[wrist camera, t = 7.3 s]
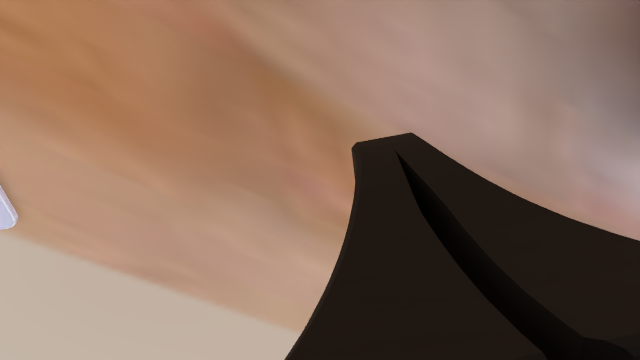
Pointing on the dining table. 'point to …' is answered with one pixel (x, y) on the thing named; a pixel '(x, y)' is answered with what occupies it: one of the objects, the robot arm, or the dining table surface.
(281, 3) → the dining table surface
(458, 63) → the dining table surface
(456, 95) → the dining table surface
